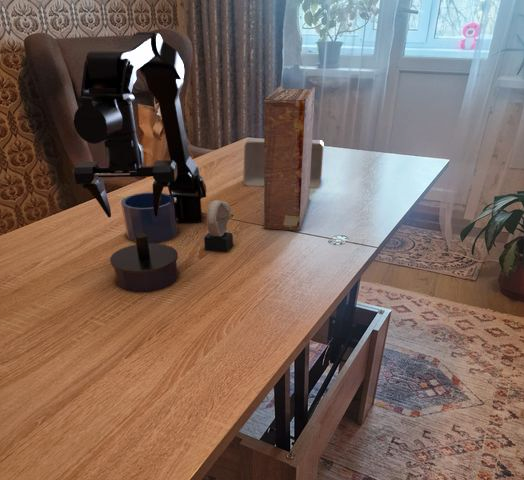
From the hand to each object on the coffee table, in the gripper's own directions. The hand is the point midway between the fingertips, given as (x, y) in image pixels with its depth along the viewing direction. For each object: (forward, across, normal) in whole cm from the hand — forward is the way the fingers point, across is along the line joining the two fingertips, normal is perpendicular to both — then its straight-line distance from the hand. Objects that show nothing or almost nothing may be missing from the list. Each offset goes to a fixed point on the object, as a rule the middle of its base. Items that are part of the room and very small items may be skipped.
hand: (133, 216), depth 96 cm
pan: (+13, -1, +2) cm, 13 cm away
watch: (+13, -16, -14) cm, 25 cm away
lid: (+8, -1, +2) cm, 9 cm away
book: (+12, -35, -36) cm, 52 cm away
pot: (+12, +1, -23) cm, 27 cm away
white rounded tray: (+12, -37, -69) cm, 79 cm away
